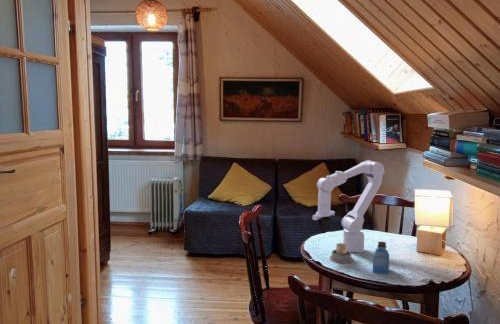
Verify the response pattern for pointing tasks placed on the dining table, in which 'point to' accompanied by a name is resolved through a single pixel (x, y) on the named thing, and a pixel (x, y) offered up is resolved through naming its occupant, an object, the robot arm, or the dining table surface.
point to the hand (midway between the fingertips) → (323, 232)
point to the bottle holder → (341, 257)
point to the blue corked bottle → (381, 259)
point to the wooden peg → (341, 249)
